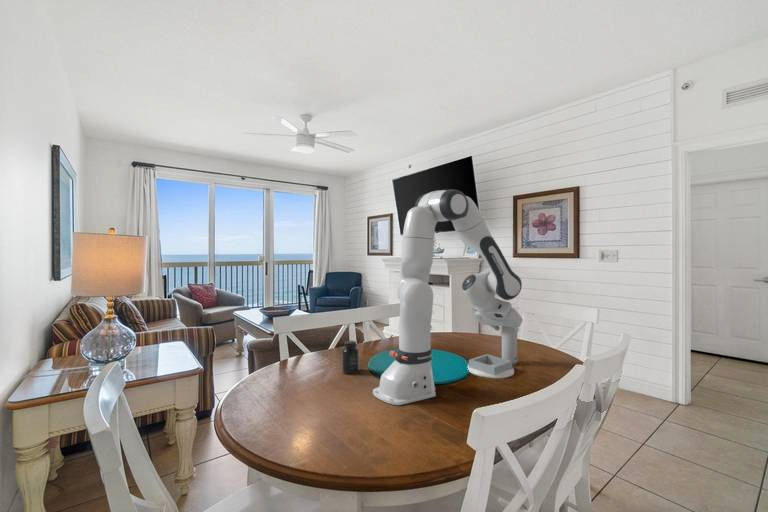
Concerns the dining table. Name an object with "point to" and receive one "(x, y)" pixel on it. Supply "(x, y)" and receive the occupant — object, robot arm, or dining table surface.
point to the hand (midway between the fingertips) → (507, 330)
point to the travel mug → (509, 344)
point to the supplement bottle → (350, 358)
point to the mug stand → (490, 367)
